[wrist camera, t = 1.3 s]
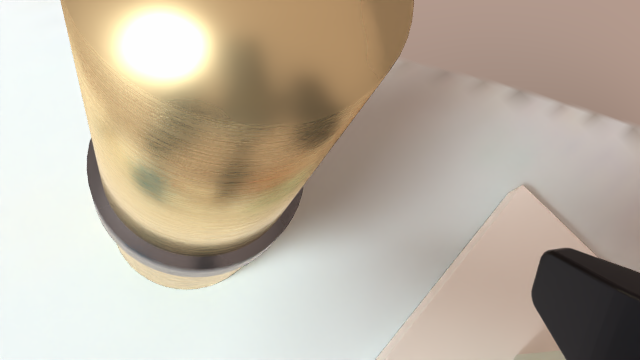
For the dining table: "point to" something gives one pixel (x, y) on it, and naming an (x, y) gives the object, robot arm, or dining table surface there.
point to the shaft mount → (489, 292)
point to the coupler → (218, 117)
